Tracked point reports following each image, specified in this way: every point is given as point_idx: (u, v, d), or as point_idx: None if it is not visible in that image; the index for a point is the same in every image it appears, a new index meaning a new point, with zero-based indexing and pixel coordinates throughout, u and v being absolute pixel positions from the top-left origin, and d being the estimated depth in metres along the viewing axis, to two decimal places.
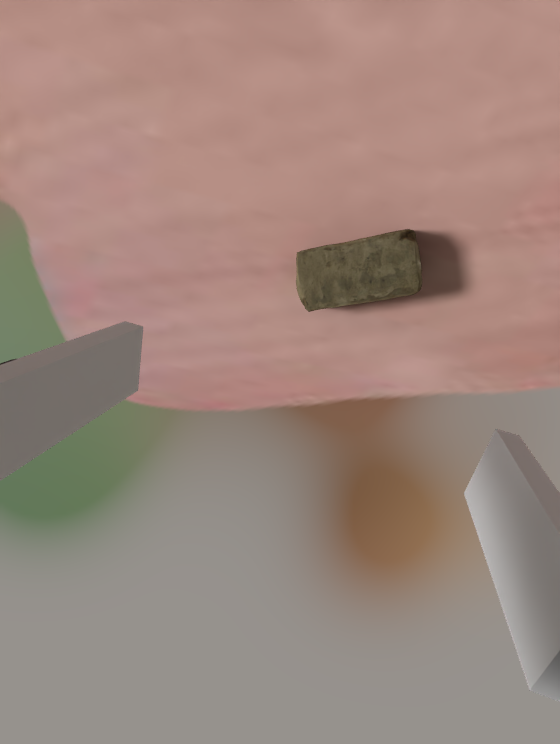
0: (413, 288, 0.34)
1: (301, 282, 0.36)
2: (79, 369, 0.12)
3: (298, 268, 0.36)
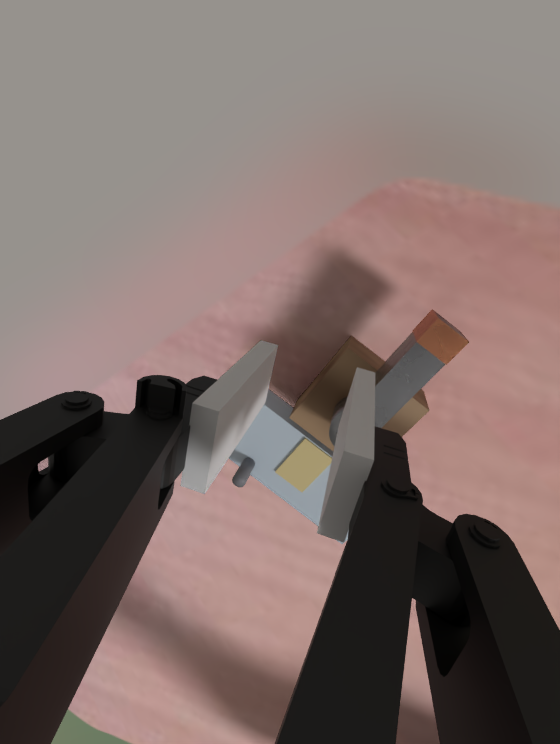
0: None
1: None
2: (251, 387, 0.13)
3: None
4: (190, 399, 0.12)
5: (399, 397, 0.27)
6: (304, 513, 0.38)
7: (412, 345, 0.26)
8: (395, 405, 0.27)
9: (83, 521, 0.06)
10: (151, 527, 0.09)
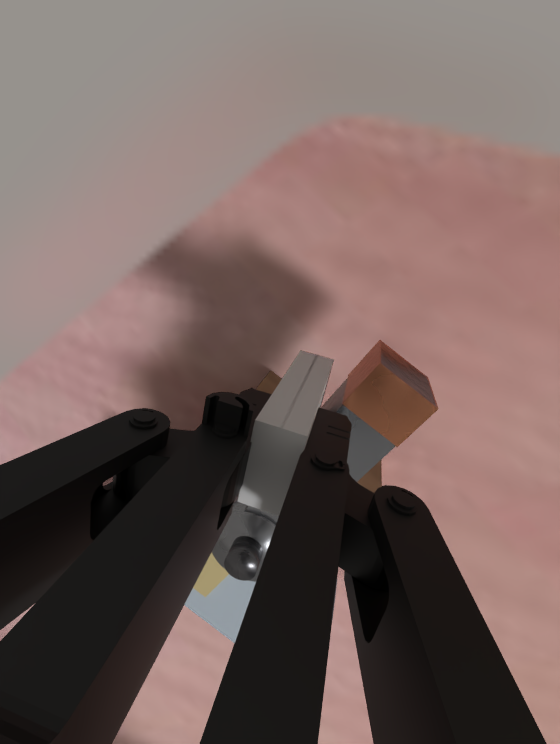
0: None
1: None
2: None
3: None
4: None
5: None
6: (212, 623, 0.26)
7: (337, 409, 0.14)
8: None
9: (146, 540, 0.06)
10: (209, 547, 0.09)
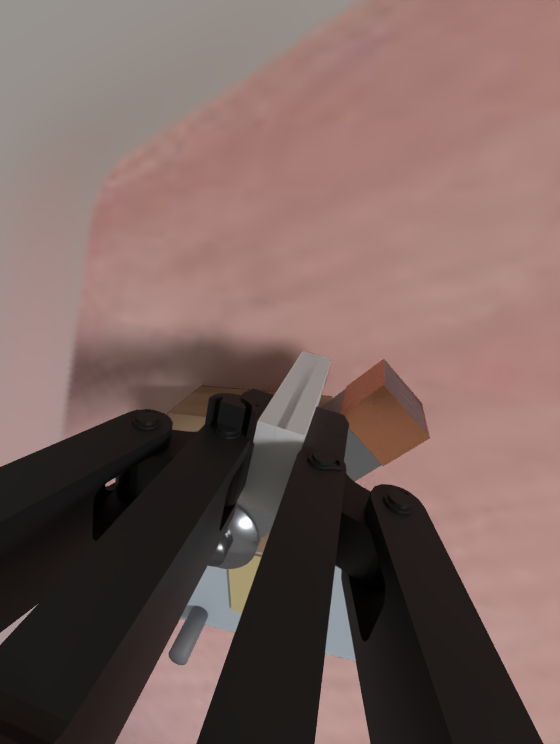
0: None
1: None
2: None
3: None
4: None
5: None
6: None
7: None
8: None
9: (149, 541, 0.06)
10: (212, 549, 0.09)
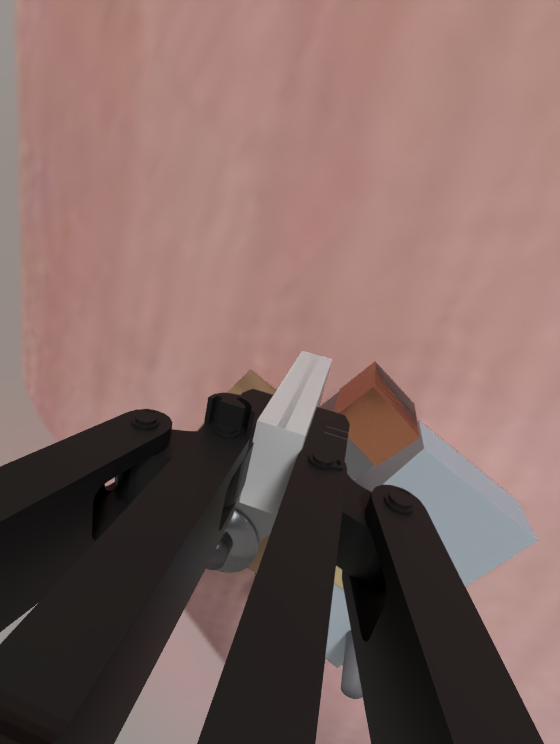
0: None
1: None
2: None
3: None
4: None
5: None
6: None
7: None
8: None
9: (148, 541, 0.06)
10: (211, 548, 0.09)
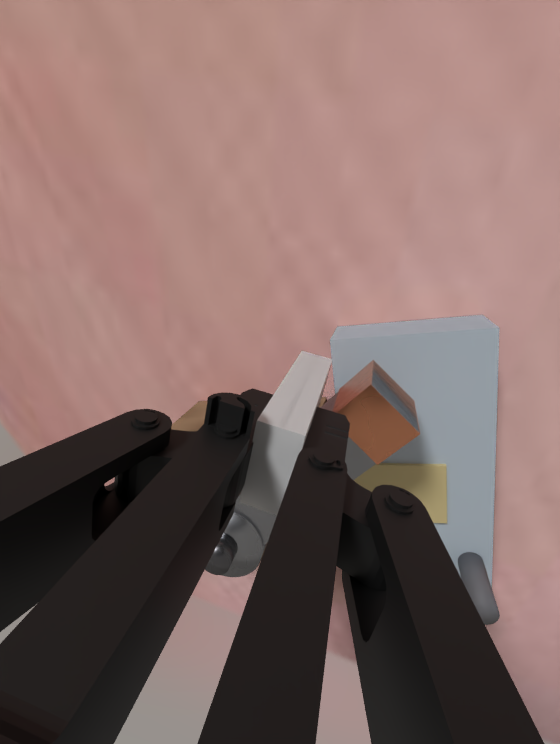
0: None
1: None
2: None
3: None
4: None
5: None
6: (490, 432, 0.17)
7: None
8: None
9: (148, 541, 0.06)
10: (211, 548, 0.09)
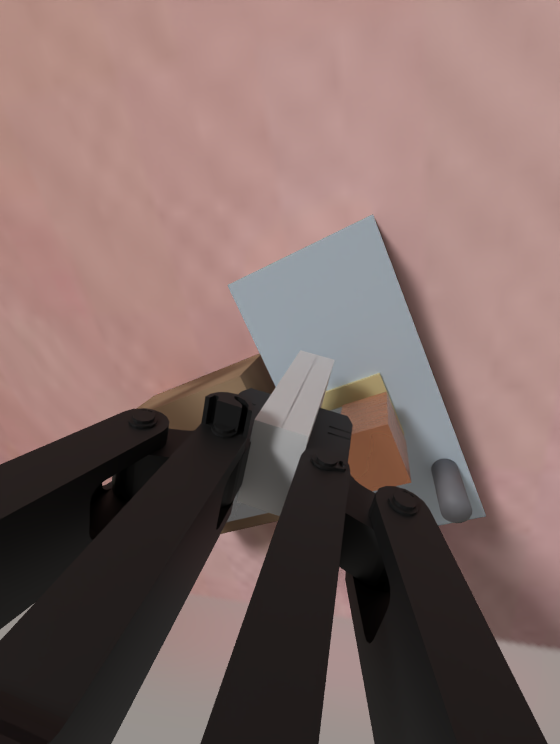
0: None
1: None
2: None
3: None
4: None
5: None
6: (408, 324, 0.17)
7: None
8: None
9: (145, 540, 0.06)
10: (209, 547, 0.09)
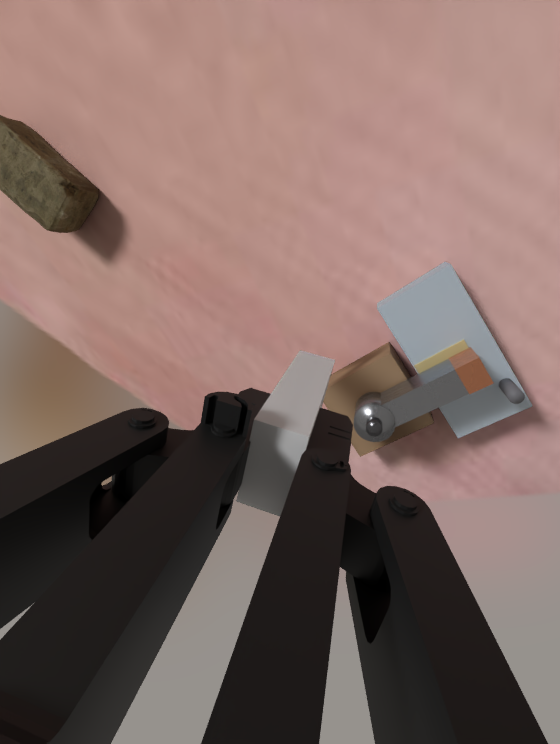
0: (46, 225, 0.39)
1: None
2: None
3: None
4: None
5: (422, 407, 0.33)
6: (475, 312, 0.34)
7: (449, 371, 0.32)
8: (417, 412, 0.33)
9: (145, 540, 0.06)
10: (208, 547, 0.09)
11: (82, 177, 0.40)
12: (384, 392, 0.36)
